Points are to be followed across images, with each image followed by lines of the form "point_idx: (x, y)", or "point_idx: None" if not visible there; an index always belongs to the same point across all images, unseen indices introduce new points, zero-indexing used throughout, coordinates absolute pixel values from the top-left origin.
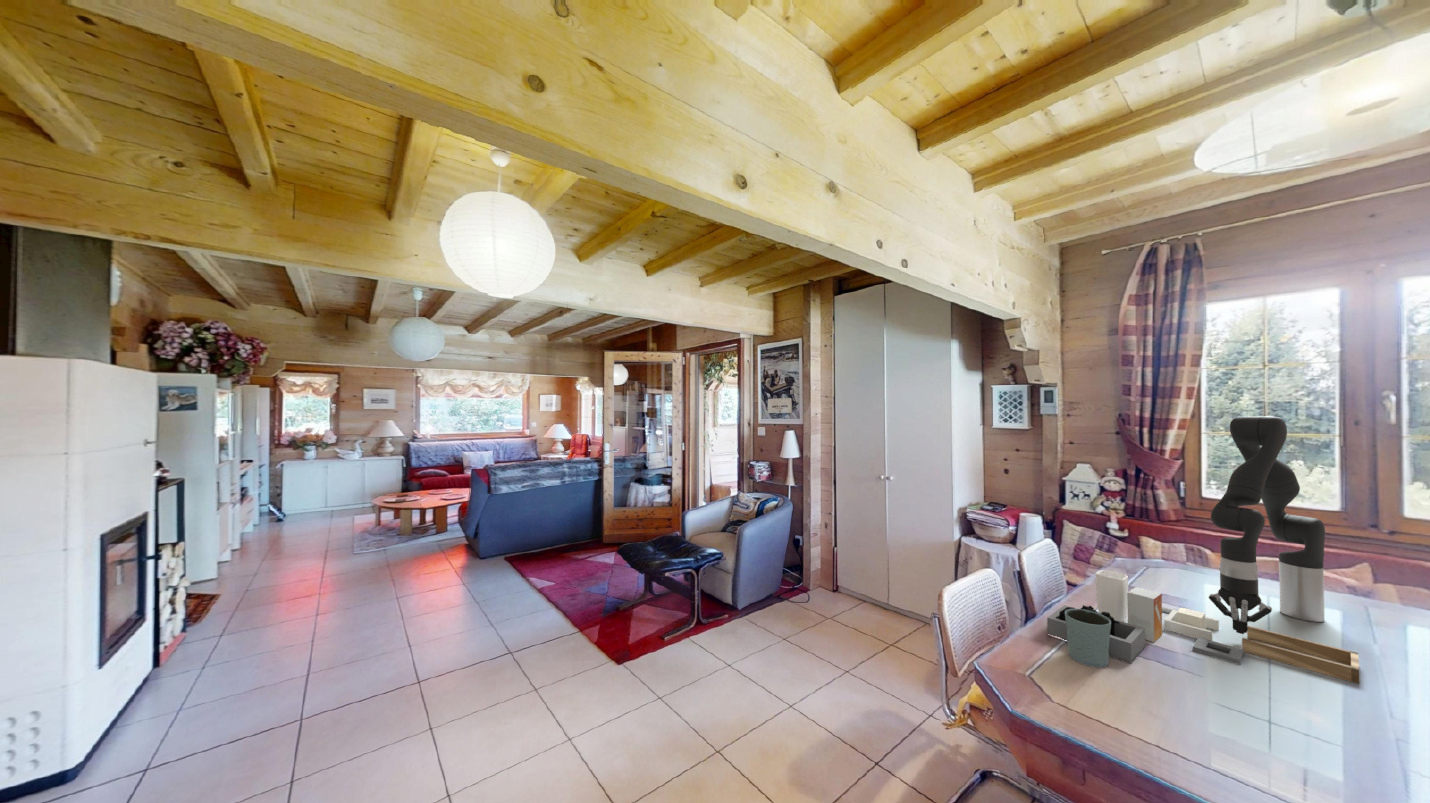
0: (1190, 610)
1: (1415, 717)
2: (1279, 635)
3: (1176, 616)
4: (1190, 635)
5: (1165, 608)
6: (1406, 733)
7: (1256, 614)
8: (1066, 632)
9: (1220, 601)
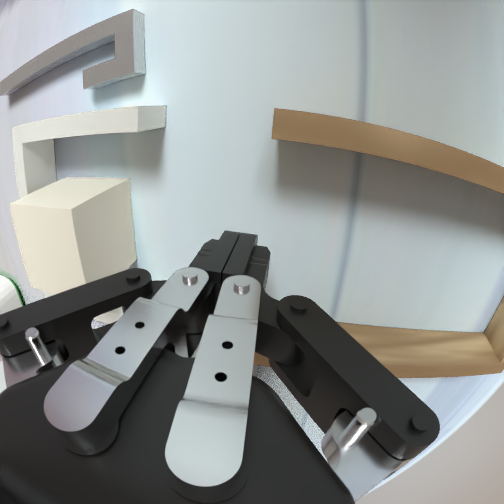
0: (34, 219)
1: (473, 412)
2: (420, 165)
3: (38, 172)
4: None
5: (13, 79)
6: (421, 453)
7: (305, 405)
8: None
9: (58, 325)
